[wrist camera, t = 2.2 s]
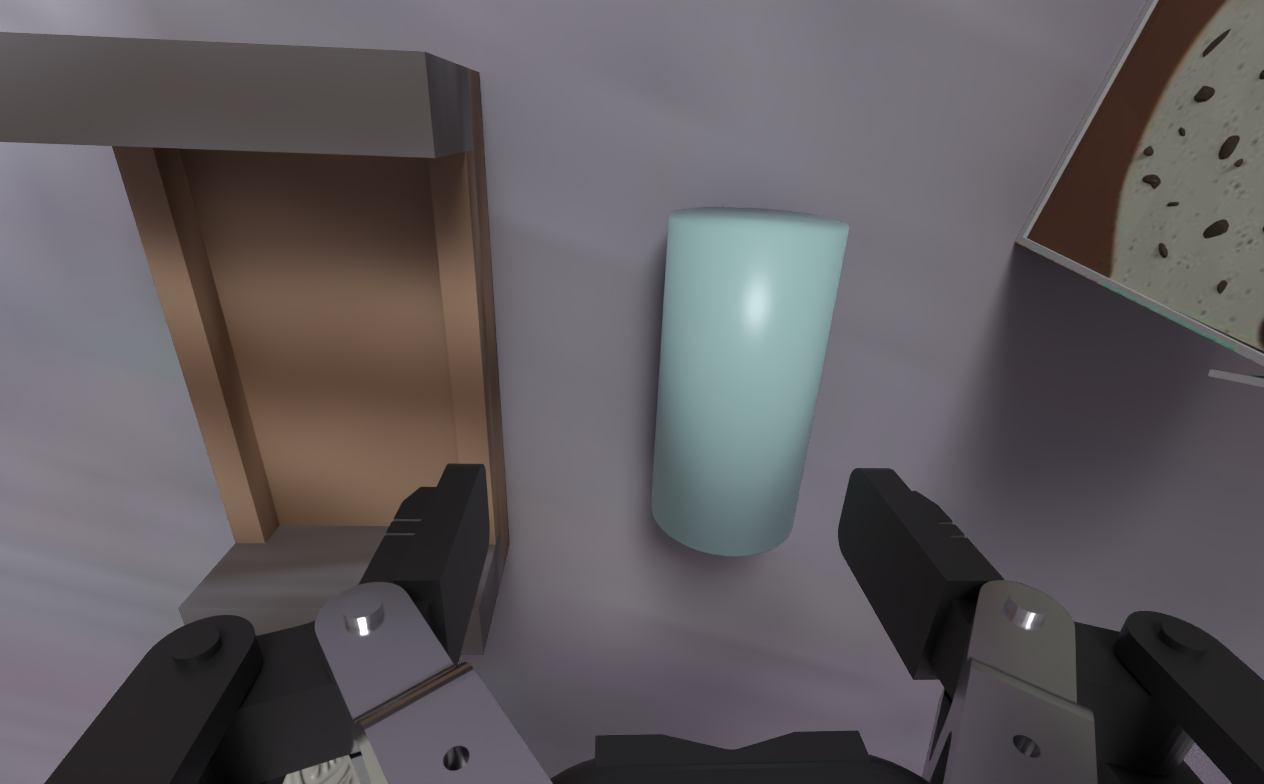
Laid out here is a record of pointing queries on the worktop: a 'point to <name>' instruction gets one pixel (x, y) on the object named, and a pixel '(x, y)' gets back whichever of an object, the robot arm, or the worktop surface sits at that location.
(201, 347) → the holder
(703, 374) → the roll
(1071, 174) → the food container
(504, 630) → the worktop surface
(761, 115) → the worktop surface
